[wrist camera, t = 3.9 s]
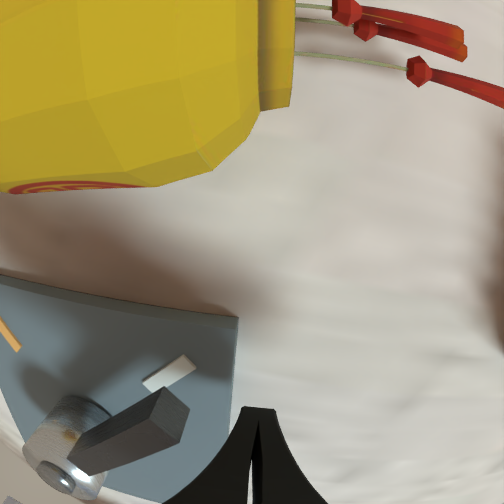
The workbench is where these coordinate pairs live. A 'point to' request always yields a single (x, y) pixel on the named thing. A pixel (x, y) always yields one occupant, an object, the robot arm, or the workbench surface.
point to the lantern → (166, 83)
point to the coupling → (101, 440)
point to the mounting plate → (119, 371)
